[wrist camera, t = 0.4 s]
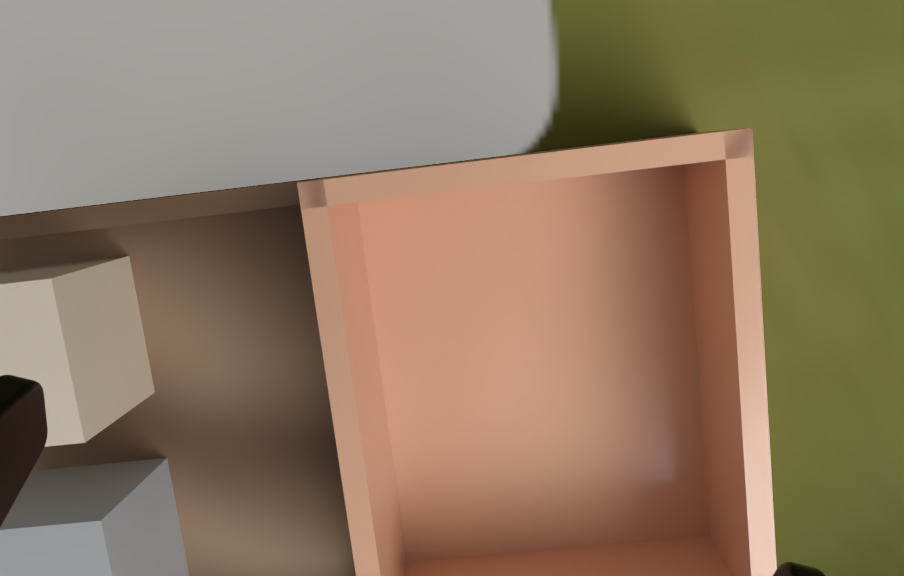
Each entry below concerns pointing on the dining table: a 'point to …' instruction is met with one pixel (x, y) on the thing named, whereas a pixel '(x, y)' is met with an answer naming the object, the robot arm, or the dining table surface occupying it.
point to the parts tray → (217, 372)
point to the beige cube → (76, 342)
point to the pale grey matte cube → (95, 523)
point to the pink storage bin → (549, 361)
